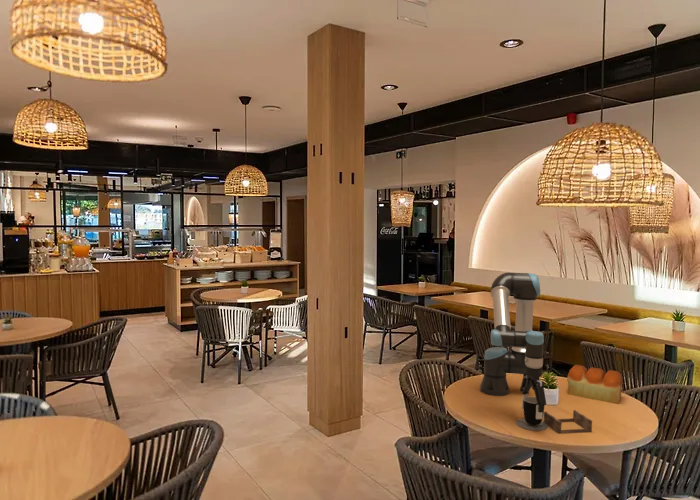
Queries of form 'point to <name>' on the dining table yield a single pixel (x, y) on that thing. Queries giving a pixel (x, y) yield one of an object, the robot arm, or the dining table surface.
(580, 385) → the bread
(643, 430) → the dining table surface
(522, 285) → the robot arm
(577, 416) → the frame
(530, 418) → the mug
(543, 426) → the coaster
